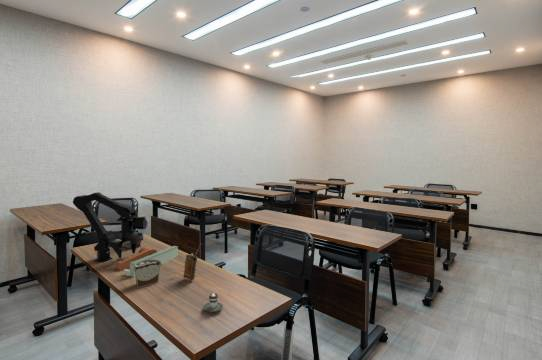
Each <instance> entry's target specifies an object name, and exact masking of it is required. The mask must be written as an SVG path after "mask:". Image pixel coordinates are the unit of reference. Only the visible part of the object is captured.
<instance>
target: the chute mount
mask: <svg viewBox="0 0 542 360" xmlns="http://www.w3.org/2000/svg"><path fill="white" fill-rule="evenodd" d="M178 248H179V246H178V245H177V246H176V245H173V246H172V245H171V246H170V247H167V248H165V249H162V250H159V251H157V253H154V254H152V255H149V256H146V257H144V258H141V259H139V260H136V261H134V262H131V263H130V269H125V270H123V276H127V277H132V278H136V275H135V271H133V269H134V265H135V264H136V263H137V262H140V261H143V260H151V259H153V260H159V261H160V262H161V265H164V264H165V263H167V262H169V261H171V260H173V259H175V258H177V257H179V256H178V255H179V252H178V250H179V249H178Z"/></svg>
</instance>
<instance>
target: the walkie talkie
mask: <svg viewBox="0 0 542 360" xmlns="http://www.w3.org/2000/svg"><path fill="white" fill-rule="evenodd" d="M200 246H202V243H199V247H198V248H197V250H196V252H195V254H194V253H193V252H191V254H186V256H185V261H184V269H183V270H184V271H183V273H178V274H173V275H170V276H168V277H166V278H171V277H174V276H181V275H183V278H185V279H188V280H189V281H193V280H195V277H198V273H196V269H197V263H198V256H197V254H198V252H199V250H200Z"/></svg>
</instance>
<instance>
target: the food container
mask: <svg viewBox="0 0 542 360" xmlns="http://www.w3.org/2000/svg"><path fill="white" fill-rule="evenodd" d="M161 266H162V264H161V262H160V261H159V260H153V259H151V260H143V261H140V262H137V263H136V264H135V265H134V269H133V271H135V275H136V276H135V282H136V288H137V289H139V288H143V287H146V286H149V285H153V284H158V283H159V281H160V280H159V278H160V270H161V269H160V268H161Z"/></svg>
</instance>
